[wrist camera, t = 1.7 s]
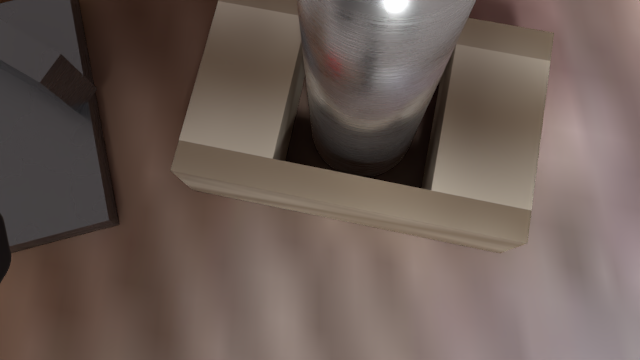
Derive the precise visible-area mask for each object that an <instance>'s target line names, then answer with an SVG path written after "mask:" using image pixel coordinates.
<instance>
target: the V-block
mask: <svg viewBox="0 0 640 360" xmlns="http://www.w3.org/2000/svg"><path fill="white" fill-rule="evenodd" d="M96 90H97V88H96V87H95V86H94V83H93V77H92V72H91V66H90V61H89V55H88V50H87V44H86V39H85V33H84V28H83V22H82V17H81V11H80V6H79V0H13V1H9V2H5V3H0V213H1V215H2V216H3V219H4V223H5V227H6V232H7V237H8V242H9V246H10V251H11V253H13V252H16V251H20V250H24V249H28V248H32V247H35V246H39V245H43V244H47V243H51V242H54V241H58V240H62V239H66V238H70V237H73V236H77V235H81V234H85V233H89V232H92V231H96V230H100V229H104V228H108V227H111V226H115V225H119V221H118V215H117V210H116V204H115V199H114V193H113V188H112V182H111V177H110V171H109V166H108V160H107V155H106V149H105V144H104V138H103V133H102V127H101V122H100V116H99V111H98V105H97V100H96V94H95V91H96Z"/></svg>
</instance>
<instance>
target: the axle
mask: <svg viewBox="0 0 640 360" xmlns="http://www.w3.org/2000/svg"><path fill="white" fill-rule="evenodd" d="M475 2H476V0H297V8H298V16H299V25H300V33H301V42H302V51H303V59H304V68H305V77H306V85H307V94H308V103H309V111H310V120H311V129H312V136H313V141H314V144H315V147H316V149H317V151H318V153H319V154H320V156H321V157H322V158H323V160H324V161H325V162H326V163H327V164H328V165H329V166H331V167H332V168H334V169H335V170H337V171H339V172H342V173H347V174H352V175H357V176H362V177H371V176H376V175H380V174H382V173H384V172H387V171H388V170H390V169H392V168H393V167H394V166H396V165H397V164H398V163H399V162H400V161H401V160H402V158H403V157H404V156H405V154H406V152H407V151H408V149H409V146H410V144H411V142H412V140H413V138H414V135H415V133H416V131H417V129H418V127H419V124H420V122H421V120H422V118H423V116H424V114H425V111H426V109H427V107H428V105H429V103H430V100H431V98H432V96H433V94H434V92H435V89H436V87H437V85H438V83H439V81H440V78H441V76H442V74H443V72H444V70H445V67H446V65H447V63H448V61H449V59H450V56H451V54H452V52H453V50H454V48H455V45H456V43H457V41H458V39H459V37H460V34H461V32H462V30H463V28H464V26H465V23H466V21H467V19H468V17H469V15H470V13H471V10H472V8H473V6H474V4H475Z"/></svg>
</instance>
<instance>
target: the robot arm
mask: <svg viewBox="0 0 640 360" xmlns="http://www.w3.org/2000/svg"><path fill="white" fill-rule="evenodd" d="M10 262H11V251H10V246H9V242H8V237H7V232H6V227H5V223H4V219H3V216H2V215H1V213H0V283H1V281H2V279H3V278H4V276H5V275H6V273H7V271H8V269H9V266H10Z"/></svg>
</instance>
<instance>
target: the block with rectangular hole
mask: <svg viewBox="0 0 640 360" xmlns="http://www.w3.org/2000/svg"><path fill="white" fill-rule="evenodd" d="M553 37H554V33H552V32H546V31H541V30H535V29H529V28H524V27H518V26H513V25H507V24H501V23H496V22H490V21H484V20H479V19H473V18H468V19H467V21H466V23H465V26H464V28H463V30H462V32H461V34H460V37H459V39H458V41H457V43H456V45H455V48H454V50H453V52H452V54H451V56H450V59H449V61H448V63H447V65H446V67H445V70H444V72H443V74H442V76H441V78H440V84H439V90H438V95H437V101H436V107H435V112H434V118H433V124H432V130H431V135H430V141H429V147H428V152H427V158H426V164H425V170H424V175H423V181H422V187H421V188H417V187H412V186H407V185H402V184H397V183H392V182H387V181H382V180H377V179H372V178H367V177H362V176H357V175H352V174H347V173H342V172H337V171H332V170H327V169H322V168H317V167H312V166H307V165H302V164H297V163H292V162H287V161H285V160H286V155H287V151H288V147H289V143H290V138H291V134H292V130H293V126H294V121H295V117H296V113H297V109H298V104H299V100H300V96H301V91H302V87H303V83H304V79H305V68H304V59H303V51H302V42H301V33H300V25H299V16H298V8H297V0H218V3H217V7H216V11H215V14H214V18H213V21H212V25H211V28H210V32H209V35H208V39H207V42H206V46H205V49H204V53H203V56H202V60H201V64H200V67H199V71H198V74H197V78H196V81H195V85H194V88H193V92H192V95H191V99H190V102H189V106H188V110H187V113H186V117H185V120H184V124H183V127H182V131H181V134H180V138H179V141H178V145H177V148H176V152H175V155H174V159H173V163H172V166H171V170H170V171H171V172H173V173H174V174H175V175H176V176H177V177H178V178H179V179H180V180H182V181H183V182H184V183H185V184H186V185H187V186H188V187H190V188H191V189H192V190H196V191H200V192H205V193H210V194H215V195H220V196H225V197H229V198H234V199H239V200H244V201H249V202H254V203H259V204H263V205H268V206H273V207H278V208H283V209H288V210H293V211H297V212H302V213H307V214H312V215H317V216H322V217H327V218H331V219H336V220H341V221H346V222H351V223H356V224H361V225H365V226H370V227H375V228H380V229H385V230H390V231H394V232H399V233H404V234H409V235H414V236H419V237H424V238H428V239H433V240H438V241H443V242H448V243H453V244H458V245H462V246H467V247H472V248H477V249H482V250H487V251H492V252H496V253H502V252H505V251H508V250H511V249H513V248H516V247H519V246H521V245H524V244H527V242H528V234H529V226H530V218H531V210H532V202H533V194H534V187H535V179H536V171H537V163H538V155H539V147H540V139H541V132H542V124H543V116H544V108H545V100H546V92H547V85H548V77H549V69H550V61H551V53H552V45H553Z"/></svg>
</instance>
